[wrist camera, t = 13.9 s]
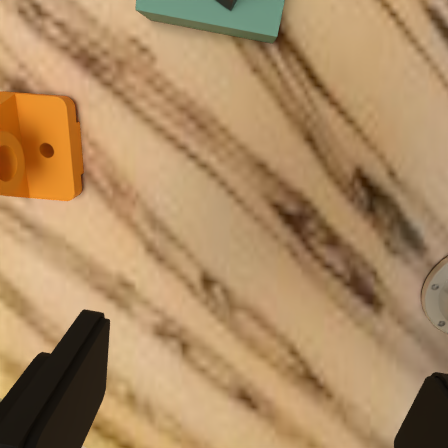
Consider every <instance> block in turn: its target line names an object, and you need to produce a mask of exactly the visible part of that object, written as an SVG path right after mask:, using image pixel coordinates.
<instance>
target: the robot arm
mask: <svg viewBox="0 0 448 448" xmlns="http://www.w3.org/2000/svg"><path fill="white" fill-rule="evenodd" d="M421 302H422V307H423V310H424V312H425V314H426V316H427V317H428V319H429V320H430V321H431V323H432V324H433V325H434V326H435V327H436V328H438V329H439V330H441V331H443V332H444V333H446V334H448V257H446V258H445V259H443V260H442V261H441V262H440V263H439V264H438V265H437V266H436V267H435V268H434V269H433V270H432V272H431V273H430V274H429V275H428V277H427V279H426V281H425V283H424V286H423V290H422V297H421ZM109 330H110V320H109V319H105V318H104V313H102V312H96V311H90V310H85V309H84V310H82V312H81V313H80V314H79V316H78V317H77V318H76V320H75V321H74V322H73V324H72V325H71V327H70V328H69V329H68V331H67V332H66V334H65V335H64V336H63V338H62V339H61V341H60V342H59V343H58V345H57V346H56V347H55V349H54V350H53V352H52V353H51V354H50V353H45V352H41V353H40V354H38V355H37V356H36V357H35V358H34V359H33V361H32V362H31V363H30V365H29V366H28V367H27V369H26V370H25V371H24V372H23V374H22V375H21V376H20V378H19V379H18V380H17V382H16V383H15V384H14V385H13V387H12V388H11V389H10V391H9V392H8V393H7V395H6V396H5V397H4V398H3V400H2V401H1V402H0V448H81V447H82V445H83V443H84V441H85V438H86V436H87V434H88V432H89V429H90V427H91V425H92V423H93V421H94V418H95V416H96V414H97V412H98V409H99V407H100V405H101V403H102V400H103V397H104V394H105V390H106V377H107V361H108V346H109ZM394 448H448V374H444V373H438V372H435V373H433V374H432V375H431V376H428V377H427V378H426V379H425V381H424V383H423V385H422V386H421V388H420V390H419V392H418V394H417V396H416V398H415V400H414V402H413V404H412V406H411V408H410V410H409V412H408V414H407V416H406V418H405V420H404V421H403V423H402V425H401V427H400V429H399V431H398V433H397V435H396V437H395V440H394Z"/></svg>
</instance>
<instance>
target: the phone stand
mask: <svg viewBox="0 0 448 448" xmlns="http://www.w3.org/2000/svg"><path fill="white" fill-rule="evenodd" d="M216 1H217V2H218V3H220V4H221V5H223V6H224V7H225V8H227V9H228V10H230V11H231V10H232V9H233V7H234V5H235V3H236V1H237V0H216Z"/></svg>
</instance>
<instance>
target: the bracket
mask: <svg viewBox="0 0 448 448" xmlns="http://www.w3.org/2000/svg"><path fill="white" fill-rule="evenodd" d="M83 173H84V169H83V157H82V145H81V132H80V122H76V110H75V104H74V102H73V101H72V100H71V99H70V98H69V97H67V96H57V95H44V94H31V93H18V92H0V195H3V196H13V197H25V198H37V199H49V200H61V201H70V200H72V199H73V198H75V197H76V196H78V195H79V194H80V193H81V191H82V182H81V174H83Z"/></svg>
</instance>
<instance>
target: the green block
mask: <svg viewBox="0 0 448 448" xmlns="http://www.w3.org/2000/svg"><path fill="white" fill-rule="evenodd" d="M284 1H285V0H237V1H236V3H235V5H234V7H233V9H232V10H231V11H230V10H228V9H227V8H225V7H224V6H223V5H221V4H220V3H218V2H217V1H216V0H136V10H137V11H138V12H140V13H141V14H142V15H144V16H145V17H147V18H148V19H149V20H152V21H157V22H163V23H168V24H173V25H178V26H183V27H189V28H194V29H199V30H204V31H210V32H215V33H220V34H225V35H231V36H236V37H241V38H246V39H251V40H257V41H262V42H267V43H272V44H273V42H274V41H275V39H276V38H277V35H278V30H279V25H280V21H281V16H282V11H283V6H284Z"/></svg>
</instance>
